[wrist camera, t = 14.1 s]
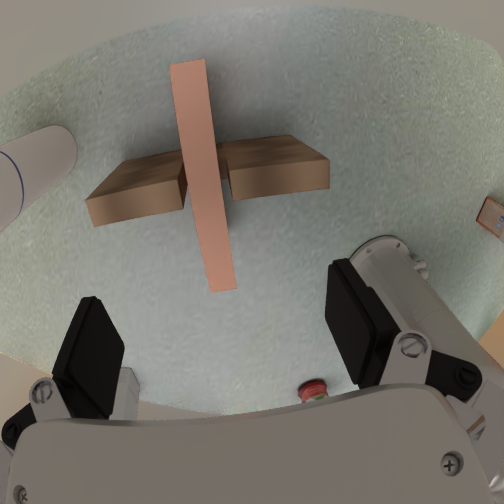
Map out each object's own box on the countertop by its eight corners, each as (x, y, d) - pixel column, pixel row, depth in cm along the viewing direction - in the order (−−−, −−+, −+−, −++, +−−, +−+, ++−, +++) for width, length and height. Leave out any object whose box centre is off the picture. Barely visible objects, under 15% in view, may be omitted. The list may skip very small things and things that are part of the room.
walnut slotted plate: (290, 134, 32) (329, 159, 22) (291, 155, 33) (329, 188, 23) (122, 162, 31) (85, 200, 21) (126, 181, 32) (94, 227, 22)
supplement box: (98, 365, 49) (87, 419, 38) (131, 367, 50) (124, 423, 39) (109, 385, 53) (102, 435, 42) (140, 387, 54) (136, 438, 43)
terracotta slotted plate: (183, 73, 26) (169, 64, 16) (205, 70, 27) (204, 58, 17) (208, 232, 37) (210, 292, 27) (227, 229, 37) (236, 288, 27)
